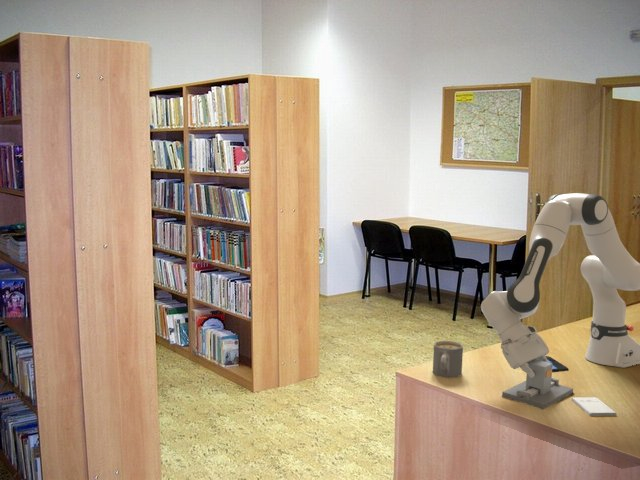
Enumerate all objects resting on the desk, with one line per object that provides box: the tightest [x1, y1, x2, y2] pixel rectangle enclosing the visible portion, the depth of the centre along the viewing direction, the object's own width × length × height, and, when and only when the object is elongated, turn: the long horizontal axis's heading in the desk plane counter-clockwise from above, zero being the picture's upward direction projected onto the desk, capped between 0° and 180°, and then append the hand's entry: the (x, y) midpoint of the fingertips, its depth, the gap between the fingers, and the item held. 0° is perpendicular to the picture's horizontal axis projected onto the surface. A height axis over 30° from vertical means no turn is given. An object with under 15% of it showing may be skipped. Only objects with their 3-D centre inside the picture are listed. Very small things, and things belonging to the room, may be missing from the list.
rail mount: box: [501, 377, 574, 410], centre depth 218 cm, size 20×14×3 cm
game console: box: [537, 355, 569, 373], centre depth 245 cm, size 14×13×2 cm
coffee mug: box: [432, 340, 464, 378], centre depth 235 cm, size 13×10×10 cm
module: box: [525, 359, 553, 394], centre depth 217 cm, size 5×6×9 cm
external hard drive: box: [571, 396, 617, 417], centre depth 208 cm, size 2×8×12 cm
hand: (541, 373), depth 216 cm, fingers open, 8 cm apart
